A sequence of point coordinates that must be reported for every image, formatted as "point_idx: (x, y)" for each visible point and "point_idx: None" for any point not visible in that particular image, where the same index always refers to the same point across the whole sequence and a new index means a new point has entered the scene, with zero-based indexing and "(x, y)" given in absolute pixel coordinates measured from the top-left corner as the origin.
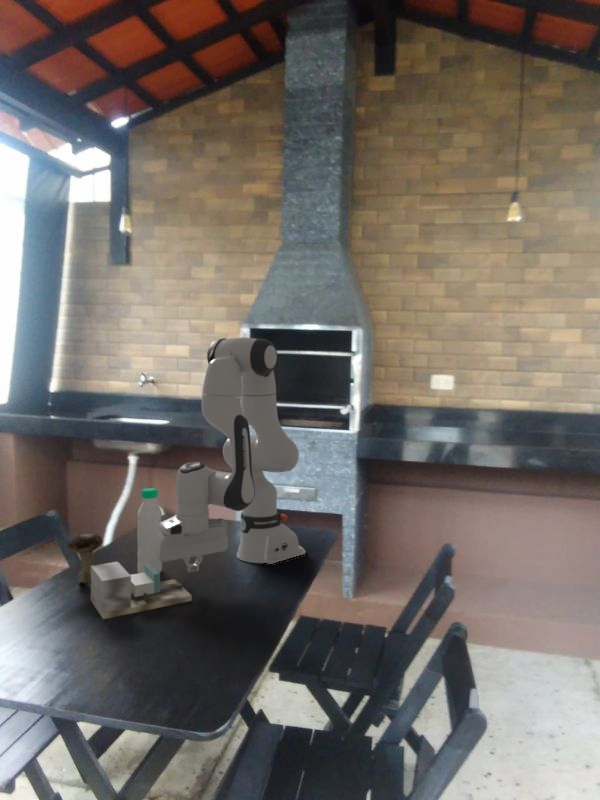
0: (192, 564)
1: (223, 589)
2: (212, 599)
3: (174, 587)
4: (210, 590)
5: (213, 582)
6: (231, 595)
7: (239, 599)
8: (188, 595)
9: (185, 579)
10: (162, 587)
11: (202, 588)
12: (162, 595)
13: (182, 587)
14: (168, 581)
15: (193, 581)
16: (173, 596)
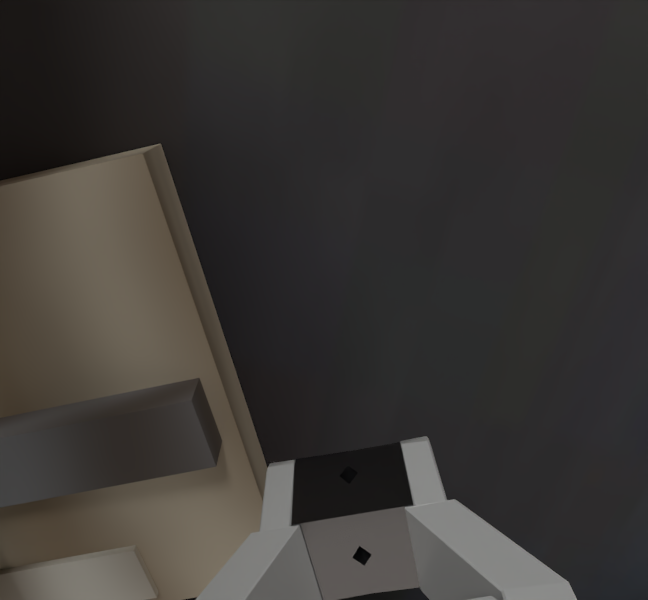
0: (362, 540)
1: (617, 404)
2: None
3: (134, 476)
4: (498, 396)
5: (603, 210)
6: (622, 523)
7: (642, 590)
8: None
9: (313, 6)
10: (2, 476)
11: (441, 334)
12: (32, 533)
13: (227, 418)
14: (68, 212)
15: (398, 112)
16: (131, 586)
